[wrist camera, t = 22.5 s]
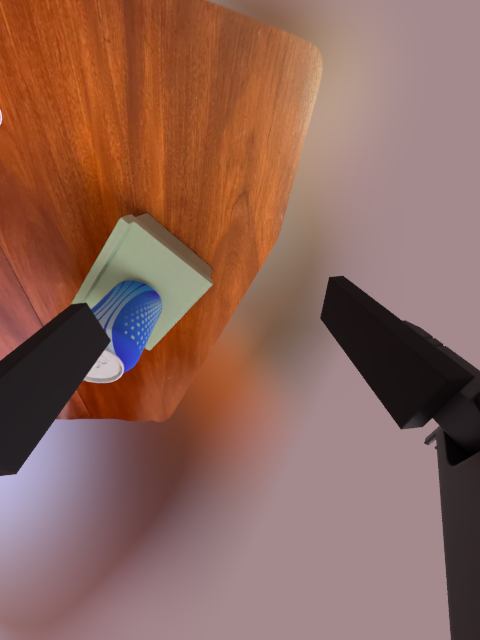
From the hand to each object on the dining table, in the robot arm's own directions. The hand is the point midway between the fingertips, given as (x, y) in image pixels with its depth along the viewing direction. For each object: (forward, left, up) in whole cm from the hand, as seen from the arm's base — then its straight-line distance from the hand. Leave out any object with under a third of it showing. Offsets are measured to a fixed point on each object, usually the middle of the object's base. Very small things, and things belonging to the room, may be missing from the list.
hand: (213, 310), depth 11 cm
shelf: (+16, +10, -31) cm, 36 cm away
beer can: (+16, +10, -23) cm, 30 cm away
